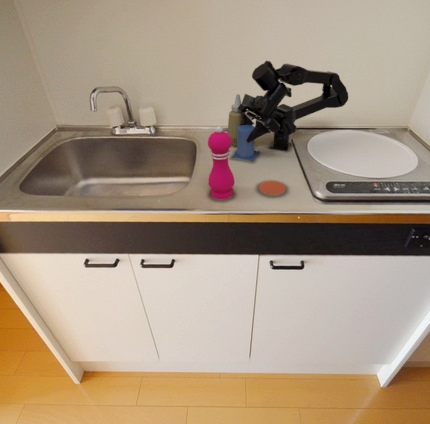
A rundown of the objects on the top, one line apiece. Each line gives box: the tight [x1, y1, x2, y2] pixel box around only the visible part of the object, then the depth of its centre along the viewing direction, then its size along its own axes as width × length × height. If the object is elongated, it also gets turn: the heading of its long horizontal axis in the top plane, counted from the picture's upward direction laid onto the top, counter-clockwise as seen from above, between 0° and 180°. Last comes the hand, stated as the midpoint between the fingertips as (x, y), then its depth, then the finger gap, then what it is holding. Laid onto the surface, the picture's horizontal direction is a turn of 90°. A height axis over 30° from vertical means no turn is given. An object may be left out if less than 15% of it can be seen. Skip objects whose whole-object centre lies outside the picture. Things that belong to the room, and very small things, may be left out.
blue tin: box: [236, 125, 256, 158], centre depth 97 cm, size 6×6×10 cm
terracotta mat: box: [258, 180, 286, 196], centre depth 82 cm, size 8×8×1 cm
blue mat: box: [231, 150, 260, 162], centre depth 100 cm, size 8×8×1 cm
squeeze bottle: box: [227, 93, 242, 147], centre depth 104 cm, size 8×8×18 cm
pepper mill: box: [207, 125, 235, 200], centre depth 75 cm, size 7×7×20 cm
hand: (242, 138), depth 96 cm, fingers closed on blue tin, 6 cm apart
